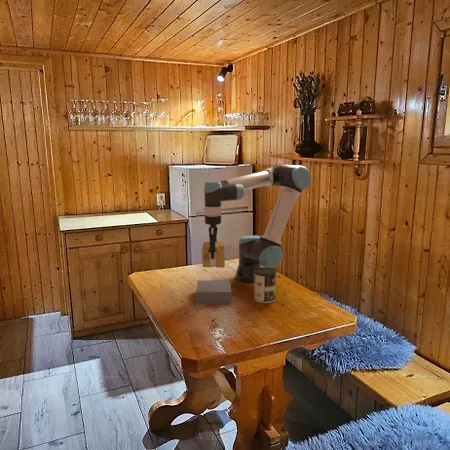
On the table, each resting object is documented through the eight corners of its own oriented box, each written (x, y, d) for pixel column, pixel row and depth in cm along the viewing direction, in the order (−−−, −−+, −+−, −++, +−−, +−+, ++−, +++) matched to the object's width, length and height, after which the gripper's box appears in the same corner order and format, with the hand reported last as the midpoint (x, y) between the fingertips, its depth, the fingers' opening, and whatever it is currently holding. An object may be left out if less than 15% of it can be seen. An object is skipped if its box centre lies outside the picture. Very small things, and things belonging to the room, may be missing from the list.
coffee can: (276, 295, 195) (277, 267, 192) (274, 304, 185) (275, 274, 182) (255, 294, 197) (255, 266, 194) (252, 302, 187) (252, 273, 184)
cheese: (224, 267, 185) (224, 246, 183) (201, 267, 185) (200, 246, 183) (225, 261, 195) (225, 241, 193) (202, 261, 196) (202, 241, 194)
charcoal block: (229, 291, 202) (229, 280, 201) (231, 304, 186) (231, 291, 185) (197, 292, 201) (197, 280, 200) (196, 304, 186) (196, 292, 184)
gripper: (206, 210, 197) (207, 254, 201) (202, 219, 175) (203, 269, 179) (221, 210, 197) (222, 255, 201) (220, 219, 174) (220, 269, 179)
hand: (213, 261), depth 190 cm, fingers closed on cheese, 10 cm apart
